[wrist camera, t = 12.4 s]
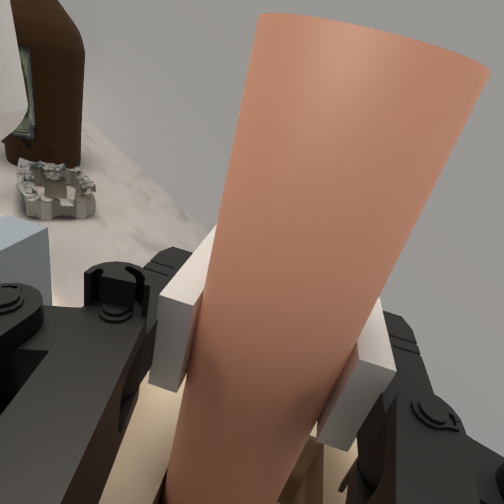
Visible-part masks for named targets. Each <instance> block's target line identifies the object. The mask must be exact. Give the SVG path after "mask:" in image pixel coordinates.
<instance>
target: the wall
mask: <svg viewBox="0 0 504 504" xmlns="http://www.w3.org/2000/svg"><path fill="white" fill-rule="evenodd" d="M2 283H21V284H25V285H30V286H32V287H34V288H35V289H37V290H39V291H40V293H41V295H42V297H43V305H47V306H52V292H51V275H50V257H49V239H48V227H46V226H43V225H39V224H36V223H33V222H30V221H27V220H24V219H21V218H17V217H14V216H11V215H5V216H3V217H0V284H2Z"/></svg>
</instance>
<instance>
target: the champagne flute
mask: <svg viewBox="0 0 504 504" xmlns="http://www.w3.org/2000/svg"><path fill="white" fill-rule="evenodd" d="M27 109H28V101H27V96H26V90H25V84H24V78H23V73H22V67H21V61H20V55H19V50H18V44H17V38H16V32H15V27H14V21H13V15H12V9H11V4H10V0H0V141H1V140H3V139H4V138H5V137H6V136H8V135H9V134H10V133H11V132H13V131H14V130H15V129H16V128H17V126H18V125H19V124H20V123H21V121H22V120H23V118H24V116H25V114H26V112H27Z"/></svg>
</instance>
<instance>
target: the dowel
mask: <svg viewBox="0 0 504 504" xmlns="http://www.w3.org/2000/svg"><path fill="white" fill-rule="evenodd" d="M490 73H491V72H490V70H489V69H488V68H487V67H486V66H484V65H482V64H481V63H479V62H477V61H474V60H472V59H470V58H468V57H465V56H463V55H460V54H458V53H455V52H452V51H449V50H446V49H444V48H441V47H437V46H434V45H431V44H428V43H425V42H421V41H418V40H414V39H411V38H408V37H404V36H400V35H396V34H393V33H388V32H385V31H380V30H376V29H372V28H368V27H364V26H359V25H354V24H350V23H345V22H340V21H335V20H329V19H323V18H318V17H312V16H304V15H296V14H286V13H265V14H261V15H259V17H258V22H257V26H256V31H255V36H254V42H253V47H252V51H251V57H250V62H249V66H248V72H247V77H246V81H245V86H244V92H243V96H242V101H241V107H240V111H239V116H238V121H237V127H236V131H235V136H234V141H233V146H232V151H231V156H230V161H229V167H228V171H227V177H226V181H225V186H224V191H223V196H222V201H221V206H220V211H219V216H218V222H217V226H216V231H215V236H214V241H213V246H212V251H211V256H210V261H209V266H208V271H207V276H206V281H205V286H204V291H203V296H202V301H201V306H200V311H199V316H198V321H197V326H196V331H195V336H194V341H193V346H192V351H191V356H190V361H189V366H188V371H187V376H186V381H185V386H184V391H183V396H182V401H181V406H180V411H179V416H178V421H177V426H176V431H175V436H174V441H173V446H172V451H171V456H170V461H169V466H168V470H167V475H166V480H165V485H164V490H163V495H162V500H161V504H276V502H277V500H278V498H279V496H280V494H281V492H282V490H283V488H284V486H285V484H286V482H287V480H288V478H289V476H290V474H291V472H292V470H293V468H294V466H295V464H296V462H297V460H298V458H299V456H300V454H301V452H302V450H303V448H304V446H305V444H306V442H307V440H308V438H309V436H310V434H311V432H312V430H313V428H314V426H315V424H316V422H317V420H318V418H319V416H320V414H321V412H322V410H323V408H324V406H325V404H326V402H327V400H328V398H329V396H330V394H331V392H332V390H333V388H334V386H335V384H336V382H337V380H338V378H339V376H340V374H341V372H342V370H343V368H344V366H345V364H346V362H347V360H348V358H349V356H350V354H351V352H352V350H353V348H354V346H355V344H356V342H357V340H358V338H359V336H360V334H361V332H362V330H363V328H364V326H365V324H366V322H367V320H368V318H369V316H370V314H371V312H372V310H373V308H374V306H375V304H376V302H377V300H378V298H379V296H380V293H381V292H382V290H383V288H384V285H385V283H386V282H387V279H388V277H389V276H390V273H391V271H392V269H393V267H394V265H395V263H396V261H397V259H398V257H399V255H400V253H401V251H402V249H403V247H404V245H405V243H406V241H407V239H408V237H409V235H410V233H411V231H412V229H413V227H414V225H415V223H416V221H417V219H418V217H419V215H420V213H421V211H422V209H423V207H424V205H425V203H426V201H427V199H428V197H429V195H430V193H431V191H432V189H433V187H434V185H435V183H436V181H437V179H438V177H439V175H440V173H441V171H442V169H443V167H444V165H445V163H446V161H447V159H448V157H449V155H450V153H451V151H452V149H453V147H454V145H455V143H456V141H457V139H458V137H459V135H460V133H461V131H462V129H463V127H464V125H465V123H466V121H467V119H468V117H469V115H470V113H471V111H472V109H473V107H474V105H475V103H476V101H477V99H478V97H479V95H480V93H481V91H482V89H483V87H484V85H485V83H486V81H487V79H488V77H489V75H490Z"/></svg>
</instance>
